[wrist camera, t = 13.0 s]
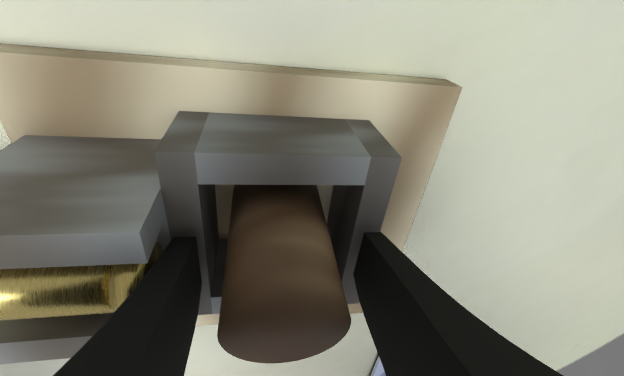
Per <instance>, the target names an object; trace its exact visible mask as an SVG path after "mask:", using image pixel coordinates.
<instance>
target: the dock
mask: <svg viewBox="0 0 624 376" xmlns="http://www.w3.org/2000/svg"><path fill="white" fill-rule="evenodd" d="M461 90H462V87H461V86H459V85H456V84H454V83H452V82H450V81H448V80H444V79H432V78H420V77H407V76H395V75H382V74H370V73H357V72H345V71H332V70H320V69H307V68H295V67H283V66H270V65H258V64H245V63H233V62H220V61H208V60H195V59H183V58H171V57H158V56H146V55H133V54H121V53H108V52H96V51H83V50H71V49H58V48H46V47H34V46H21V45H9V44H0V120H1V122H2V124H3V126H4V129H5V131H6V133H7V135H8V137H9V139H10V142H11V144H10V145H8V146H7V147H5V148H4V149H2V150H0V269H20V268H44V267H69V266H93V265H118V264H142V263H148V261H149V258H150V255H151V253H152V250H153V248H154V245H155V243H156V242H159V243H160V244H161V245H162V247H163V250H165V248H166V247H167V246H168V244H169V243H170V241H171V240H172V239H173V238H174V237H196V241H197V248H198V256H199V264H200V271H201V279H202V286H201V295H200V303H199V311H198V317H197V321H196V325H195V326H200V325H213V324H219V315H220V306H221V297H222V288H223V279H224V270H225V261H226V252H227V243H228V234H229V224H230V215H231V206H232V197H233V189H234V186H235V185H317V188H318V192H319V196H320V200H321V204H322V208H323V212H324V216H325V220H326V223H327V227H328V231H329V235H330V239H331V243H332V247H333V251H334V254H335V258H336V262H337V266H338V270H339V274H340V278H341V282H342V286H343V289H344V293H345V297H346V301H347V305H348V309H349V313H350V314H351V313H363V311H362V308H361V305H360V302H359V298H358V294H357V290H356V285H355V280H354V276H353V273H354V269H355V265H356V261H357V257H358V253H359V250H360V246H361V242H362V238H363V234H364V232H382V233H383V234H384V235H385V236H386V237H387V238H388V239H389V240H390V241H391V242H392V243H393V244H394V245H395V246H396V247H397V248H398V249H399V250H400V251H401V252H402V251H403V248H404V245H405V242H406V240H407V237H408V234H409V232H410V229H411V226H412V223H413V221H414V218H415V215H416V212H417V210H418V207H419V204H420V202H421V199H422V196H423V193H424V191H425V188H426V185H427V182H428V180H429V177H430V174H431V172H432V169H433V166H434V163H435V161H436V158H437V155H438V152H439V150H440V147H441V144H442V142H443V139H444V136H445V133H446V131H447V128H448V125H449V122H450V120H451V117H452V114H453V112H454V109H455V106H456V103H457V101H458V98H459V95H460V92H461ZM112 314H113V313H104V314H90V315H75V316H60V317H46V318H31V319H17V320H2V321H0V364H11V363H22V362H33V361H44V360H55V359H66V358H71V357H72V356H73V355H74V354H75V353H76V352H77V351H78V350H79V349H80V348H81V347H82V346H83V345H84V344H85V343H86V342H87V341H88V340H89V339H90V338H91V337H92V336H93V335H94V334H95V333H96V332H97V331H98V330H99V329H100V327H101V326H102V325H103V324H104V323H105V322H106V321H107V320H108V319H109V317H110V316H111V315H112Z"/></svg>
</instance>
